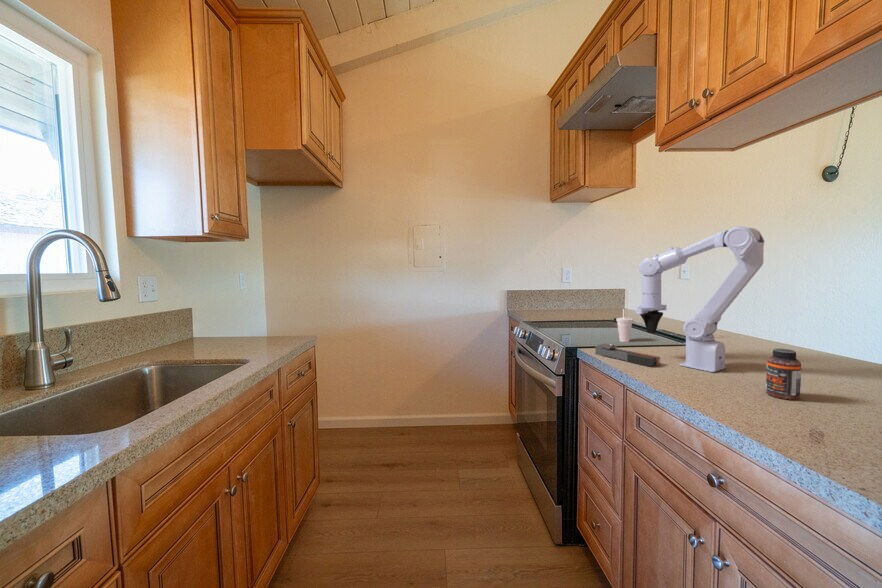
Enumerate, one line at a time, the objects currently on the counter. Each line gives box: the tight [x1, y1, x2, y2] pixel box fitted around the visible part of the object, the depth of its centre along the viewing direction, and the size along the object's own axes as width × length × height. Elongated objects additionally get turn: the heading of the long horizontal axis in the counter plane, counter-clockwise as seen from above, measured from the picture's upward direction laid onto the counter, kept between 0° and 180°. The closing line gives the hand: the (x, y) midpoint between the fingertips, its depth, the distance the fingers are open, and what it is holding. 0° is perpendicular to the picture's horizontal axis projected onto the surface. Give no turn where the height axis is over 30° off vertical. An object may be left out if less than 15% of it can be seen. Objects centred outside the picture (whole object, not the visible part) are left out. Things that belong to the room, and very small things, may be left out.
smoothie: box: [615, 308, 634, 343], centre depth 148 cm, size 6×6×14 cm
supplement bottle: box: [765, 348, 802, 401], centre depth 83 cm, size 6×6×11 cm
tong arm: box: [612, 348, 661, 366], centre depth 120 cm, size 18×3×2 cm, turn 29°
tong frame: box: [594, 343, 656, 368], centre depth 120 cm, size 21×5×4 cm, turn 28°
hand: (651, 332), depth 120 cm, fingers closed
